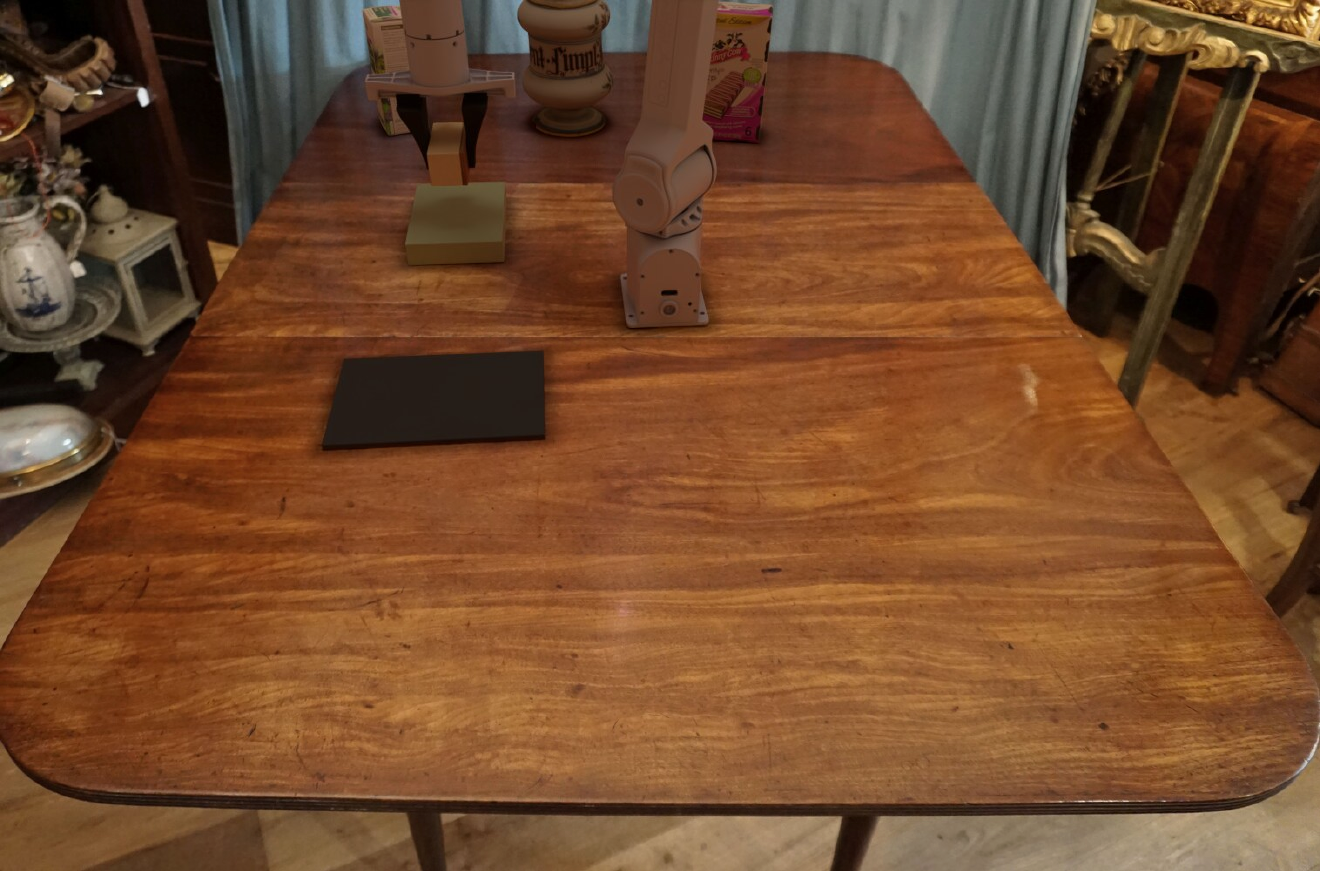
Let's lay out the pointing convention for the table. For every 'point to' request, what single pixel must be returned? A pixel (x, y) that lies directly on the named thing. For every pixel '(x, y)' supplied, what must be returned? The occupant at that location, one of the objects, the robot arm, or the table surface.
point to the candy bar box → (738, 71)
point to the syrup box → (387, 57)
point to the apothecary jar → (566, 63)
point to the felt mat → (437, 400)
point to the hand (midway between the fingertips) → (452, 164)
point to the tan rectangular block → (448, 155)
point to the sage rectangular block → (457, 224)
